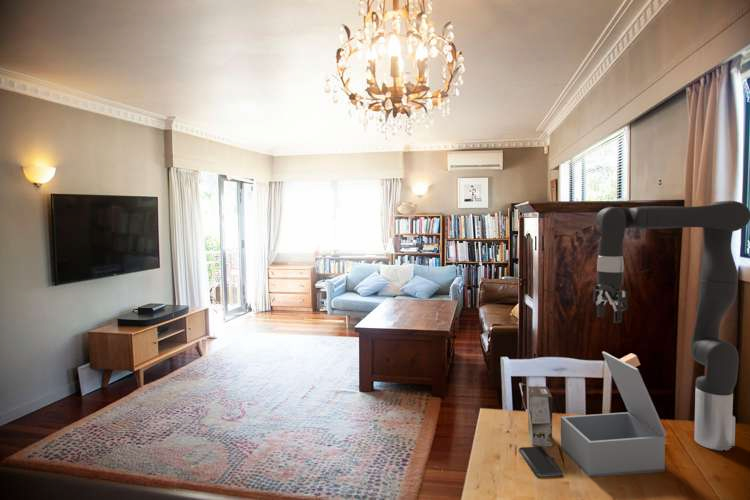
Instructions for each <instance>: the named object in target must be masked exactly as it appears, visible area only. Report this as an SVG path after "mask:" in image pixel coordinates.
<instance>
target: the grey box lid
mask: <svg viewBox="0 0 750 500" xmlns="http://www.w3.org/2000/svg"><path fill="white" fill-rule="evenodd" d="M601 353H602V356H603V358H604V360H605V363H606V365H607V367H608V370H609V372H610V373H611V376H612V378H613V381H614V383H615V385H616V387H617V390H618V392H619V393H620V396H621V398H622V400H623V403H624V406H625V408H626V410H627V412H629V413H630V414H632V415H633V416H635V417H636V418H638V419H639V420H641V421H642V422H644V423H645V424H646V425H648V426H649V427H651V428H652V429H654V430H655V431H657V432H658V433H660V434H661V435H663V436H664V437H665V438H666V437H667V432H666V430H665V428H664V426H663V424H662V422H661V419H660V417H659V414H658V412H657V410H656V407H655V405H654V402H653V400H652V398H651V396H650V394H649V391H648V389H647V387H646V385H645V383H644V380H643V377H642V375H641V373H640V369H639V368H637V367H638V366H641V363H640V360H639V358H638V355H636V354H635V353H628V354H627V355H624V356H623V357H621V358H617V357H615V356H613V355H611V354H610V353H608V352H606V351H602V352H601Z"/></svg>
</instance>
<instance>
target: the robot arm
mask: <svg viewBox="0 0 750 500" xmlns="http://www.w3.org/2000/svg"><path fill="white" fill-rule="evenodd" d="M596 222H597V224H598V226H600V227H601V236H600V238H599V240H598V245H597V249H598V250H597V251H598V252H597V260H596V261H597V262H596V283H597V284H594V285H593V290H592V291H593V295H592V296H593V297H592V301H593V303H595V304H596V306H597V310H596V311H597V317H599V318H604V317H605V316H606V303H607V302H609V304H610V305H611V306H612V308H613V310H614V311H613V323H615V324H621V323H622V322H623V311H628V291H627V290H621V288H620V287H621V286H623V285H624V269H625V268H624V263H625V262H624V237H625V234H626V233H625V232H626V229H636V230H658V229H659V230H660V229H662V230H663V229H679V228H702V236H703V237H702V239H703V243H702V247H703V248H702V257H701V265H700V276H699V285H698V301H697V308H696V318H695V323H694V327H693V332H692V336H691V337H692V338H691V343H690V353H691V356H692V358H693V361H695V362H697V363H699V364H701V365H703V366H705V367H706V370H705V371H706V372H705V375H701V376H697V378H696V379H695V390H694V391H695V393H694V396H695V397H694V398H695V399H694V401H695V403H694V441H695V443H697V444H698V445H700V446H702V447H704V448H706V449H710V450H714V451H723V450H725V451H729V450H731V449H732V448H733V447H732V446H734V447H735V446H736V445H735V443H736V442H735V441H736V439H735V438H736V437H735V436H736V416H735V415H733V409H734V408H733V406H734V405H733V402H734V389H735V386H736V384H737V380H738V373H739V372H738V371H739V364H740V363H739V361H740V360H739V357H740V356H739V352H738V350H737V348H736V347H735V346H734V345H733V344H732V343H730V342H728V341H725V340H722V339H720V328H721V327H720V326H721V323H722V320H723V317H724V316H725V314H727V312H728V311H729V310H730V309H731V307H732V306H733V304H734V302H735V301H736V298H737V294H738V293H737V292H738V282H739V277H738V275H739V273H738V270H737V266H736V262H735V258H734V256H733V255H734V254H733V252H732V251H733V250H732V239H733V232H736V231H740V230H741V229H743V228H745V227H746V226H747V225H748V224H749V223H750V209H749V207H747V205H746V204H744V203H742V202H740V201H736V200H723V201H715V202H712V203H710V204H708V205H700V206H699V205H697V206H670V205H668V206H667V205H665V206H664V205H660V206H658V205H657V206H655V205H654V206H653V205H652V206H646V205H645V206H635V207H617V206H616V207H615V206H612V207H611V206H610V207H605V208H603V209H601V210H599V212H598V213H597V216H596ZM622 303H623V304H622ZM730 448H731V449H730ZM723 452H724V451H723Z"/></svg>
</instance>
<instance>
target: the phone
mask: <svg viewBox="0 0 750 500" xmlns="http://www.w3.org/2000/svg"><path fill="white" fill-rule="evenodd" d="M518 451H519V454H520V455H521V456H522V458H523V460H524V461H525V463H526V464H527V466H528V467H529V469H530V470H531V472H532V473H533V474H534V475H533V476H535V477H536V478H538V479H541V478H542V479H544V478H562V477H563V474H564V473H563V470H562V469H561V468H560V466H559V465H558V464H557V462H555V460H554V459H553V458H552V456H551V455H550V454H549V453H548V451H547V450H546V448H545V447H544V446H539V445H537V446H523V447H519V448H518Z"/></svg>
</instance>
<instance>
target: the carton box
mask: <svg viewBox="0 0 750 500" xmlns="http://www.w3.org/2000/svg"><path fill="white" fill-rule="evenodd" d="M560 448H561V450H563V451H564V452H565V454H567V456H568V457H569V458H570V459H571V460H572V461H573V462H574V463H575V464H576V465H577V466H578V467H579V468H580V469H581V470H582V471H583V472H584V474H585V475H587V477H588V478H598V477H609V476H610V477H611V476H622V475H624V476H625V475H635V474H637V475H638V474H648V473H661V472H665V468H666V467H665V461H666V460H665V457H666V456H665V455H666V453H665V452H666V437H665V436H663V435H662V434H660V433H659V432H657V431H656V430H654V429H653V428H651V427H650V426H648V425H647V424H645V423H644V422H643V421H641V420H640V419H638V418H637V417H635V416H634V415H632V414H631V413H629V412H628V411H626V412H623V411H622V412H611V413H600V414H599V413H597V414H583V415H582V414H580V415H568V416H567V415H566V416H560Z"/></svg>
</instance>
